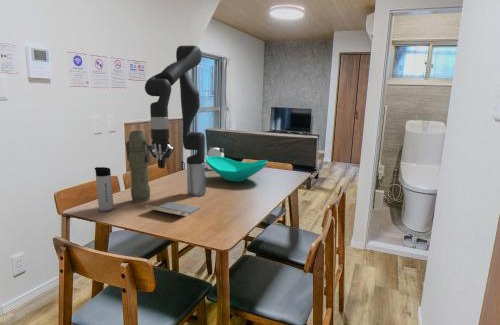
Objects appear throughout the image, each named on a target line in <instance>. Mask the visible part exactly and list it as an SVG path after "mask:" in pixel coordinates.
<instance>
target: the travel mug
mask: <svg viewBox="0 0 500 325" xmlns="http://www.w3.org/2000/svg"><path fill="white" fill-rule="evenodd" d="M94 170H95V180H96V181H95V182H96V192H97V193H96V194H97V202H98V211H99V212H101V213H107V212H111V211H113V210H114V207H115V206H114V195H113V185H112V184H113V182H112V175H111V174H112V173H111V168H110V167H105V166H103V167H102V166H100V167H99V166H96V167H94Z"/></svg>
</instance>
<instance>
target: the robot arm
mask: <svg viewBox="0 0 500 325" xmlns="http://www.w3.org/2000/svg"><path fill="white" fill-rule="evenodd" d="M202 56H203V55H202V50H201V49H200V47H199V46H197V45H179V46H177V48H176V51H175V58H176V59H175V60H176V61H175V62H172V63H171V64H170V63H169V65H168V66H166V67H165V68H164V69H163V70H161V72H159V73H157V74H155V75H153V76H151V77H150V78H148V79H147V80H146V81H145V83H144V84H145V85H144V91H145V92H146V94H147V95H149V96H150V97H158V100H157V101H155V102H152V103H150V104H149V105H150V106H149V109H150V121H149V123H150V125H149V126H150V139H151V144H149V146H148V149H149V151H150V154H151V155H152V158H154V159H156V160H157V167H158V169H165V167H166V159H169V157H170V156H171V155H172V153H173V151H174V150H175V147H174V146H171V144H170V141H169V139H170V120H169V109H168V108H169V103H170V99H171V93H172V86H173V85H175V83H176V82H178V80H179V89H180V90H179V91H180V92H179V93H180V105H181V106H180V108H181V117H182V118H181V120H182V145H183V148H184V149H185V150H190V151H196V153H195V154H193V155H189V156H187V158H186V177H187V178H186V180H187V181H186V182H187V183H186V185H187V195H188V196H190V197H202V196H205V194H206V193H207V189H206V188H207V185H206V184H207V183H206V177H207V176H206V173H205V172H206V171H205V170H206V169H205V159H206V158H205V156H206V155H205V151H206V150H205V147H206V137H205V134H204V133H203V132H197V131H191V127H192V126H191V125H192V123H193V120H195V119H194V118H195V117H196V115H197V113H198V112H199V109H200V107H201V104H200V92H199V89H198V88H197V87H196V86H197V85H196V84H194V82H193V80H192V78H191V76H190V74H189V73H190V71H191V69H193V68H195V67H197V66H199V65H200V64H201V61H202Z"/></svg>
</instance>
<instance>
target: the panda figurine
mask: <svg viewBox="0 0 500 325" xmlns="http://www.w3.org/2000/svg"><path fill="white" fill-rule="evenodd" d="M207 151H208V152H207V157H210V156H219V157H224V158H225V153H224V151H225V148H224V147H221V148H219V147H213V146H210V147H209V146H208V147H207ZM207 170H211V171H214V170H213V169H212V168H211V167H210V166H208V167H207Z"/></svg>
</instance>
